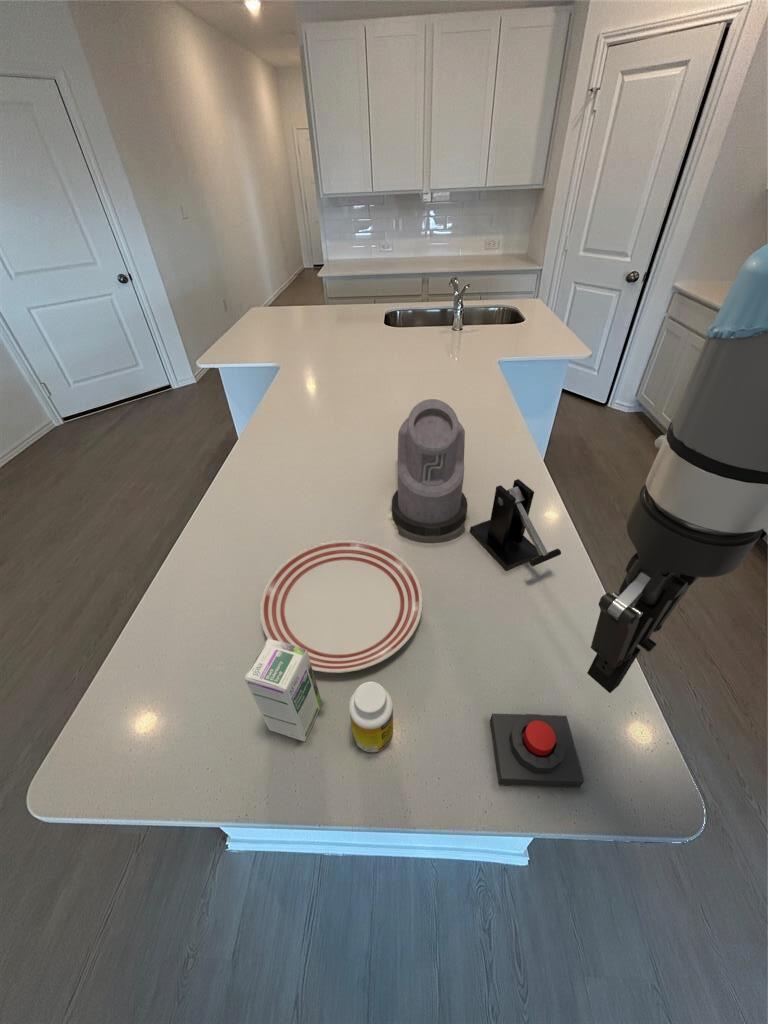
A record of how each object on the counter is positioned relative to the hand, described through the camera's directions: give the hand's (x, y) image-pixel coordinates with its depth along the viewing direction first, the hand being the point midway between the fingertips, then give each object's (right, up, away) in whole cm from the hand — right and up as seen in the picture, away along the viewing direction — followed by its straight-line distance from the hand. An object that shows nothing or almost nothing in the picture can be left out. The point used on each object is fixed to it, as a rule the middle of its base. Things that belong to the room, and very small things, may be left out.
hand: (602, 679), depth 45 cm
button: (-3, -12, +10) cm, 16 cm away
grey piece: (-13, +21, +54) cm, 59 cm away
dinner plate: (-30, +1, +31) cm, 43 cm away
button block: (-3, -14, +12) cm, 19 cm away
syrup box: (-35, -12, +17) cm, 41 cm away
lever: (+3, +15, +34) cm, 37 cm away
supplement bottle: (-24, -13, +15) cm, 31 cm away
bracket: (+1, +11, +42) cm, 43 cm away
